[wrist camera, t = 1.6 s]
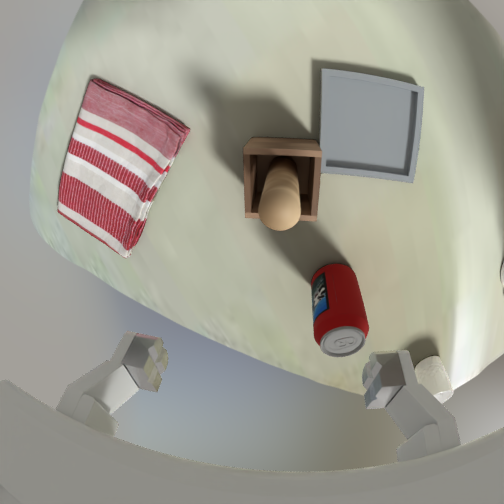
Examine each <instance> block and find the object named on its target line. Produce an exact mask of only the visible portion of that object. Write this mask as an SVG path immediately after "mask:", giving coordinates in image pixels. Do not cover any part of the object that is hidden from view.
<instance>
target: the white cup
mask: <svg viewBox="0 0 504 504" xmlns="http://www.w3.org/2000/svg"><path fill="white" fill-rule="evenodd" d="M415 374H416V377H417V381H418V384H422V385H423V386H424V387H425V388H426V389H427V390H428V391H429V392H430V393H431V394H432V395H433V396H434V397H435V398H436V399H437V400H438V401H439V402H440V403H441V404H442V403H443V402H445V401H447V400H448V399H449V398H450V397H451V396H452V395H453V389H452V386H451V383H450V381H449V378H448V375H447V372H446V370H445V368H444V366H443V364H442V362H441V359H440V357H439V356H430V357H428V358H425V359H423V360H422V361H420V362H419V363H418V364H417V365H416V367H415Z"/></svg>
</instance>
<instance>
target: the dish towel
mask: <svg viewBox="0 0 504 504" xmlns="http://www.w3.org/2000/svg"><path fill="white" fill-rule="evenodd" d="M189 132H190V129H189V128H187V127H186V126H184V125H183V124H181V123H180V122H178V121H176V120H174V119H173V118H171V117H169V116H168V115H166V114H164V113H163V112H161V111H159V110H158V109H156V108H154V107H152V106H151V105H149V104H147V103H145V102H143V101H142V100H140V99H138V98H136V97H134V96H132V95H130V94H128V93H126V92H124V91H122V90H120V89H118V88H116V87H114V86H112V85H110V84H109V83H107V82H104V81H102V80H100V79H91V80H90V82H89V84H88V87H87V90H86V93H85V97H84V100H83V103H82V107H81V110H80V113H79V116H78V119H77V122H76V126H75V129H74V132H73V135H72V138H71V141H70V144H69V147H68V152H67V155H66V159H65V163H64V168H63V171H62V176H61V181H60V186H59V198H58V199H59V200H58V213H60V214H61V215H62V216H64V217H65V218H67V219H68V220H70V221H71V222H73V223H74V224H76V225H77V226H79V227H80V228H81V229H83V230H84V231H86V232H87V233H89V234H90V235H91V236H93V237H95V238H96V239H98V240H99V241H101V242H103V243H104V244H106V245H107V246H108V247H110V248H111V249H112V250H114V251H115V252H116V253H118V254H120V255H121V256H122V257H124V258H128V257H130V256H131V252H132V250H133V247H134V246H135V245H136V243H137V242H138V240H139V238H140V236H141V234H142V231H143V229H144V226H145V223H146V218H147V216H148V212H149V210H150V207H151V205H152V203H153V201H154V199H155V197H156V195H157V193H158V191H159V189H160V186H161V185H162V183H163V181H164V179H165V177H166V175H167V173H168V171H169V169H170V167H171V165H172V163H173V161H174V159H175V157H176V155H177V154H178V152H179V150H180V148H181V145H182V144H183V142H184V141H185V139H186V137H187V135H188V134H189Z"/></svg>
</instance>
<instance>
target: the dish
mask: <svg viewBox="0 0 504 504" xmlns="http://www.w3.org/2000/svg"><path fill="white" fill-rule="evenodd" d="M423 100H424V87H421V86H417V85H414V84H410V83H406V82H402V81H398V80H393V79H389V78H384V77H379V76H374V75H368V74H363V73H356V72H350V71H342V70H334V69H324V68H322V69H321V86H320V126H319V147H320V148H321V150H322V161H321V173H329V174H341V175H351V176H361V177H370V178H379V179H386V180H394V181H401V182H408V183H413V181H414V176H415V170H416V164H417V157H418V151H419V143H420V135H421V125H422V114H423Z"/></svg>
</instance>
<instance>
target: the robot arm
mask: <svg viewBox="0 0 504 504" xmlns="http://www.w3.org/2000/svg"><path fill="white" fill-rule="evenodd" d="M501 282H502V284H503V286H504V262H503V265H502V269H501ZM162 346H163V341H162V339H161V338H159V337H154V336H149V335H144V334H139V333H135V332H129V331H127V332H126V333H125V334H124V335H123V338H122V339H121V341H120V343H119V344H118V346H117V348H116V350H115V352H114V354H113V356H112V358H111V360H110V361H109V360H106V361H105V362H104V363H102V364H100V365H99V366H97V367H96V368H94V369H93V370H91V371H90V372H88V373H87V374H85V375H83V376H82V377H80V378H79V379H77V380H76V381H74V382H73V383H71V384H70V385H68V386H67V388H66V390H65V392H64V394H63V396H62V398H61V400H60V402H59V404H58V406H57V408H56V410H55V409H53V408H52V407H50V406H48V405H46V404H45V403H43V402H41V401H39V400H38V399H36V398H35V397H33V396H31V395H30V394H28V393H27V392H25V391H24V390H22V389H21V388H19V387H17V386H16V385H15V384H13V383H12V382H10V381H8V380H2V381H0V504H504V427H503V428H500V429H498V430H496V431H494V432H492V433H490V434H487V435H485V436H483V437H480V438H478V439H475V440H473V441H470V442H468V443H465V444H463V445H461V444H460V439H459V434H458V429H457V424H456V420H455V417H454V416H453V415H452V414H451V413H450V412H449V411H448V410H447V409H446V408H445V407H444V406H443V405H442V404H441V403H440V402H439V401H438V400H437V399H436V398H435V397H434V396H433V395H432V394H431V393H430V392H429V391H428V390H427V389H426V388H425V387H424V386H423V385H422V384H418V381H417V377H416V374H415V370H414V367H413V363H412V360H411V357H410V353H409V351H408V350H400V351H380V352H372V353H371V354H370V356H369V360H370V361H369V362H368V363H366V364H365V366H364V369H363V374H362V381H363V386H364V387H365V388H366V389H367V391H366V393H365V394H364V397H365V405H366V409H374V408H385V409H386V411H387V412H388V414H389V415H390V416H391V418H392V419H393V420H394V422H395V423H396V425H397V426H398V427H399V429H400V430H401V431H402V433H403V434H404V436H405V437H406V438H407V440H406V441H405V442H404V443H402V444H401V445H400V446H399V447H398V448H397V458H398V462H397V463H393V464H387V465H381V466H374V467H368V468H359V469H350V470H338V471H319V472H283V471H265V470H253V469H243V468H235V467H227V466H221V465H215V464H209V463H204V462H198V461H194V460H189V459H185V458H180V457H176V456H172V455H168V454H164V453H161V452H158V451H154V450H151V449H147V448H144V447H141V446H138V445H135V444H132V443H129V442H126V441H124V440H121V439H118V438H116V437H114V436H115V433H116V431H117V428H118V425H119V424H118V422H117V421H116V420H115V419H114V418H113V417H112V416H111V414H112V413H113V412H114V411H115V410H117V409H118V408H119V407H120V406H121V405H122V404H123V403H124V402H126V401H127V400H128V399H129V398H130V397H131V396H133V395H134V394H135V393H136V392H137V391H138V390H139V388H140V389H144V390H148V391H153V392H158V389H159V387H160V384H161V381H162V378H161V375H160V374H162V373H163V372H164V371H165V370H166V367H167V364H168V353H167V350H166V349H165V348H163V347H162Z"/></svg>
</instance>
